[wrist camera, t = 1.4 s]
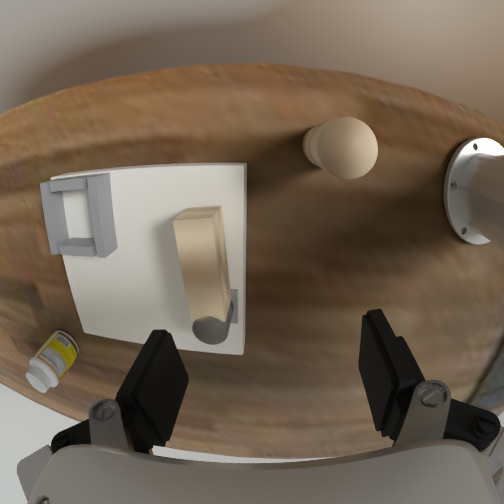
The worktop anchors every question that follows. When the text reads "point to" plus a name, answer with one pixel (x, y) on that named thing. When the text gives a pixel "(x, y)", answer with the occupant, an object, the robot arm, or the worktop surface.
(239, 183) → the white board with frame
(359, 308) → the worktop surface
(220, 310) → the beige angular block
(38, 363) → the supplement bottle
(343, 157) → the loose leg
